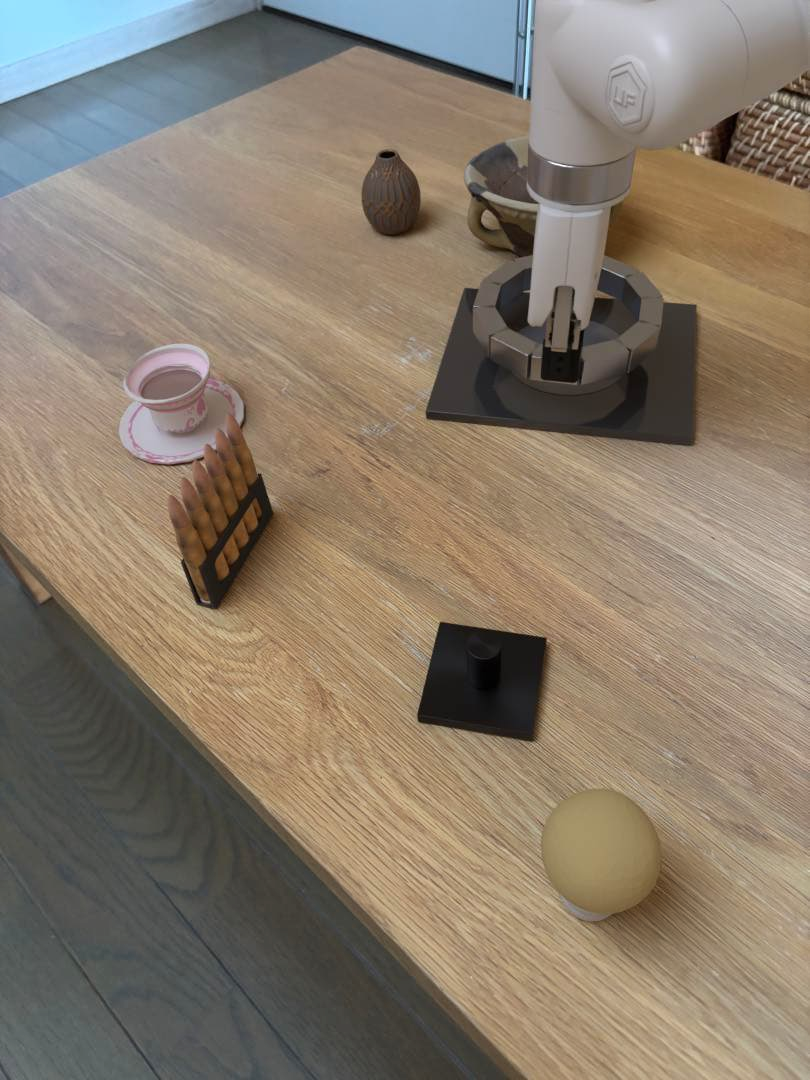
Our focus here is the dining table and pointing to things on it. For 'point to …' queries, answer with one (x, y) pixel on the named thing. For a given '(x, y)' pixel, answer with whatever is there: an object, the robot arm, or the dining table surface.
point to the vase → (390, 194)
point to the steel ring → (594, 358)
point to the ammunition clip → (220, 515)
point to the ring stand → (483, 681)
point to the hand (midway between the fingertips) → (560, 367)
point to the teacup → (175, 405)
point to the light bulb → (600, 853)
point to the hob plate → (591, 409)
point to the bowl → (506, 197)
